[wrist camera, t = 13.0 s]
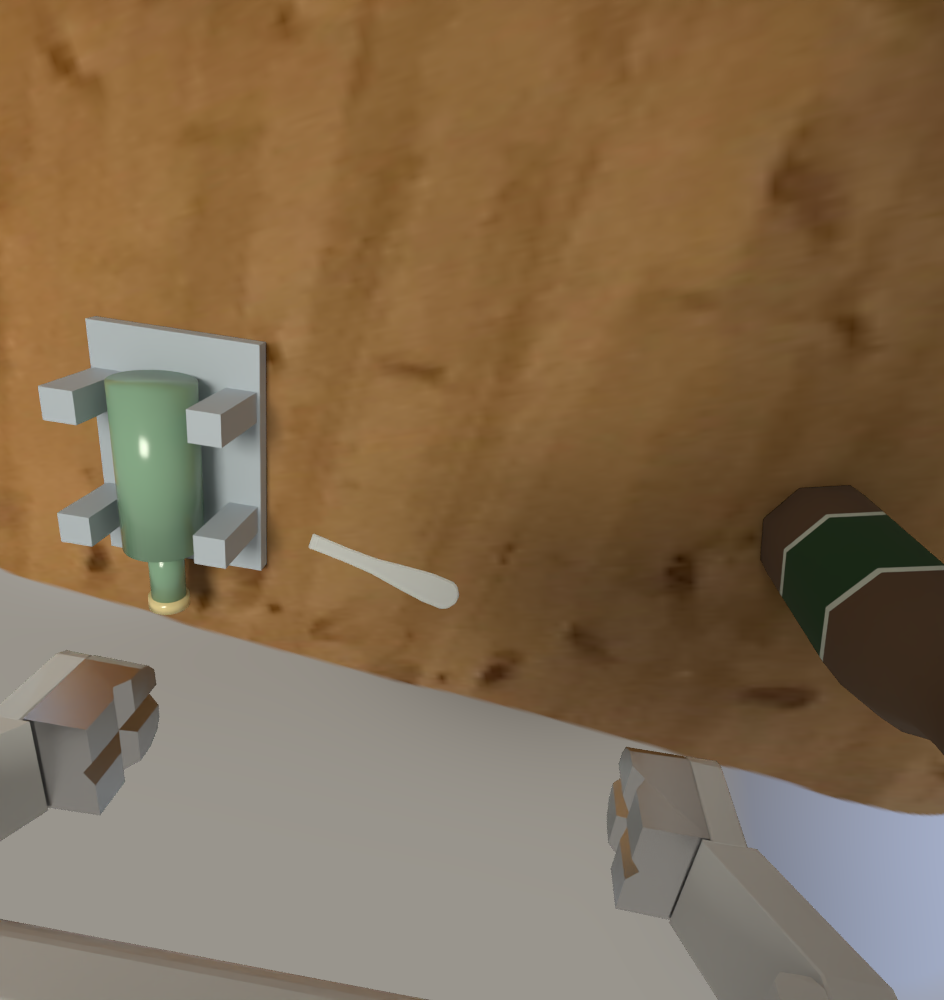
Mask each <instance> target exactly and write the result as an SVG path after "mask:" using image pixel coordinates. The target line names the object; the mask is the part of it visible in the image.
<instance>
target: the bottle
mask: <svg viewBox="0 0 944 1000" xmlns="http://www.w3.org/2000/svg"><path fill="white" fill-rule="evenodd" d="M104 385H105V394H106V403H107V412H108V421H109V430H110V439H111V448H112V457H113V467H114V476H115V485H116V494H117V503H118V512H119V521H120V530H121V539H122V549H123V551H124V553H125V554H126V555H127V556H129V557H131V558H133V559H136V560H139V561H144V562H148V565H149V576H150V587H151V591H150V593H149V594H148V601H149V609H150V610H151V611H152V612H154V613H156V614H161V615H170V614H176V613H179V612H181V611H183V610H185V609H186V608H187V607H188V606H189V605H190V591H189V589H188V588H187V587H186V576H185V561H184V558H187V557H190V556H192V555H194V547H193V535H194V534H195V533H196V532H197V531H198V530H199V529H200V528H201V527H202V526H204V525H205V513H204V492H203V472H202V451H201V445H198V444H192V443H188V440H187V422H186V409H187V408H189V407H191V406H193V405H194V404H196V403H198V402H199V390H198V380H197V379H196V378H195V377H193V376H190V375H188V374H184V373H180V372H173V371H166V370H132V371H124V372H119V373H115V374H112V375H109V376H107V377H106V378H105V379H104Z"/></svg>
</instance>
